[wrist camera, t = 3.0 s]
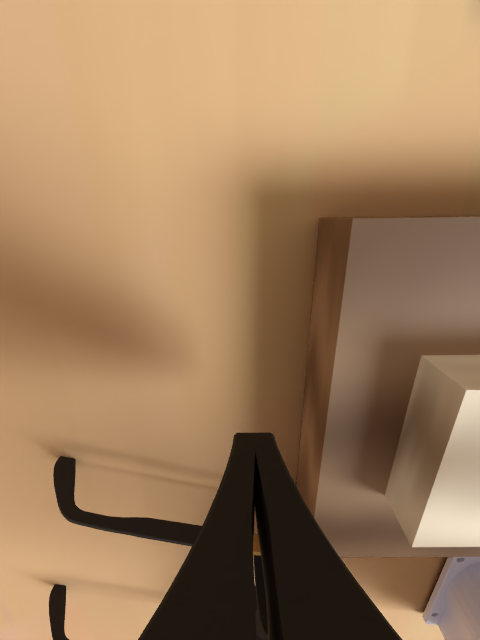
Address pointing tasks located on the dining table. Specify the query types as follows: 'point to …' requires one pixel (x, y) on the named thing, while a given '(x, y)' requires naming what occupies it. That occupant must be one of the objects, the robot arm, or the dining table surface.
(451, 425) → the cream rectangular block
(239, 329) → the dining table surface
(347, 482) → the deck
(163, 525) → the sunglasses
